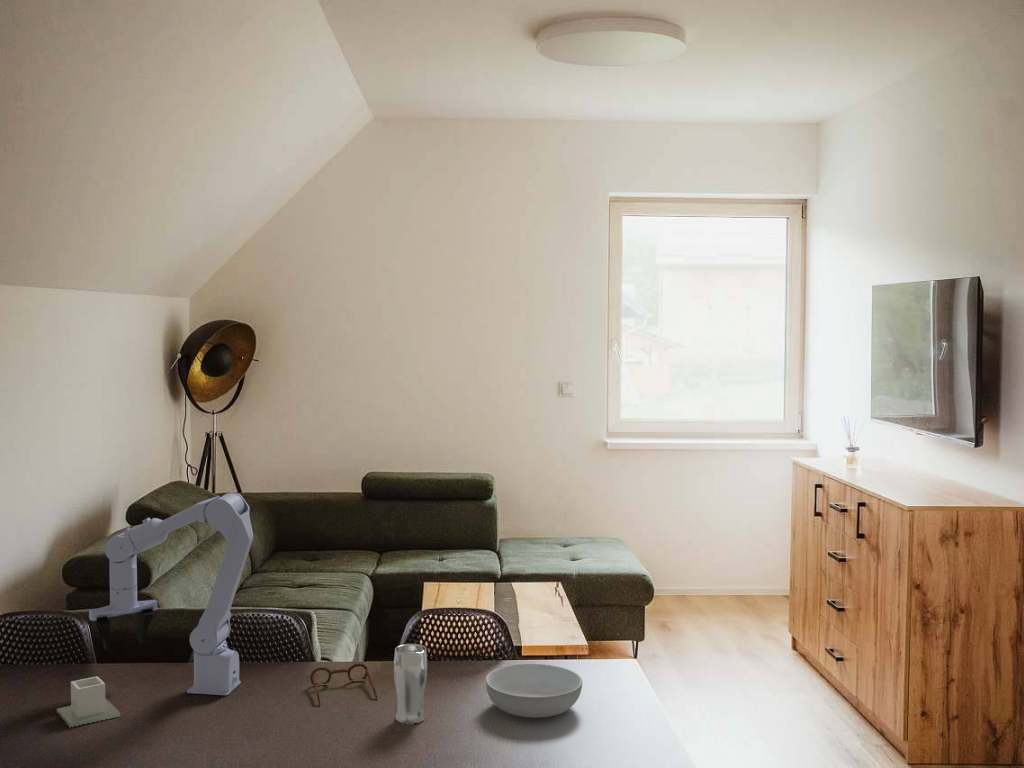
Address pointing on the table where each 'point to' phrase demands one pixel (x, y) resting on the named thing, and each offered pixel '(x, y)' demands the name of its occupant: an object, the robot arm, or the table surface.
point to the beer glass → (410, 682)
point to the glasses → (340, 672)
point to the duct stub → (75, 721)
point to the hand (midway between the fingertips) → (124, 646)
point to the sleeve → (88, 696)
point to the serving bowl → (533, 689)
